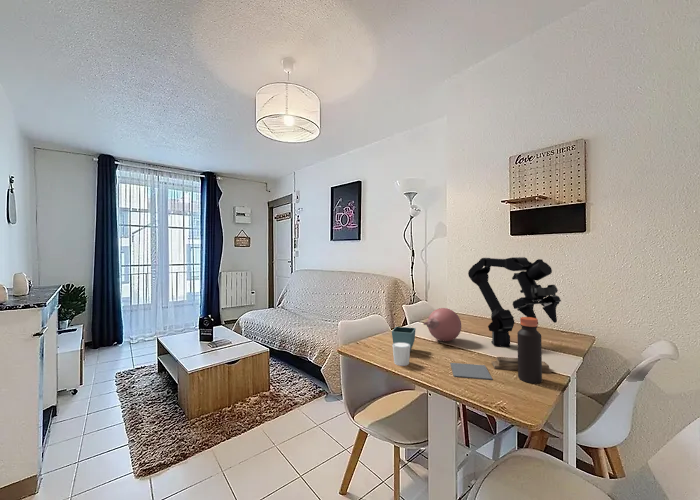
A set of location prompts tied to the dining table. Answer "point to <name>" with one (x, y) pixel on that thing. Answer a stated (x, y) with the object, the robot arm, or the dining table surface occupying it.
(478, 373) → the grey mat
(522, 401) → the dining table surface
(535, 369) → the dark water bottle
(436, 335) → the pink onion-shaped ball
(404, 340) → the flower pot
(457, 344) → the dining table surface
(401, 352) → the white cylinder
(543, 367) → the offcut stack
